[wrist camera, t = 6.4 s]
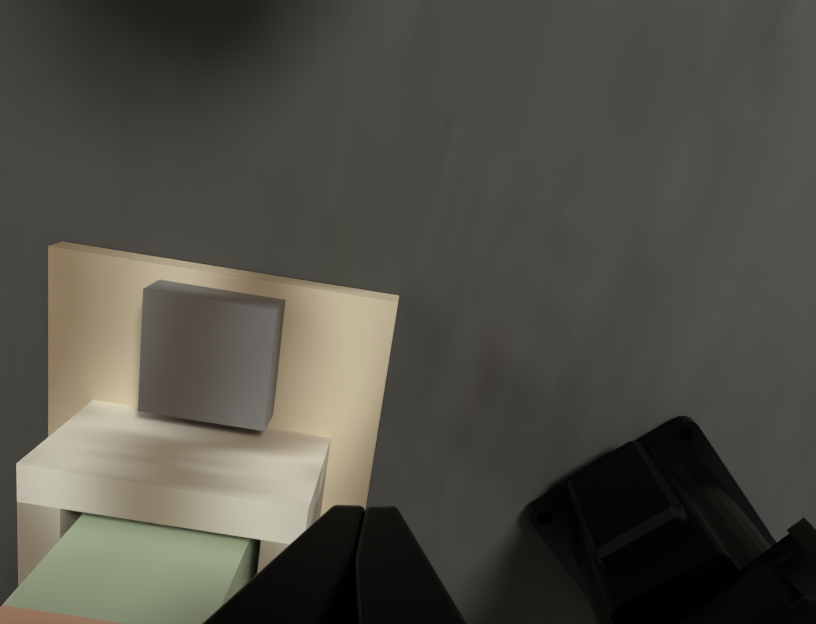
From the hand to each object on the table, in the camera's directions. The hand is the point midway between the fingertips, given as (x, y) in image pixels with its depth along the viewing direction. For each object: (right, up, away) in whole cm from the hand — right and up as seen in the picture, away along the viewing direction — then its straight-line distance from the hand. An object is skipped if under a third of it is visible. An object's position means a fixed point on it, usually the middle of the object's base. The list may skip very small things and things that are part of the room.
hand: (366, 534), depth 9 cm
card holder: (-7, -4, +15) cm, 17 cm away
